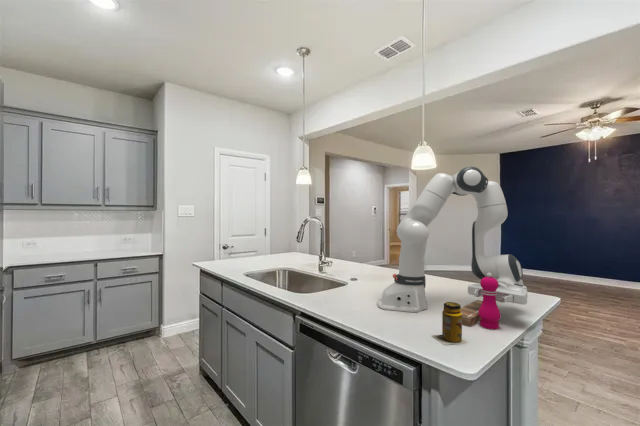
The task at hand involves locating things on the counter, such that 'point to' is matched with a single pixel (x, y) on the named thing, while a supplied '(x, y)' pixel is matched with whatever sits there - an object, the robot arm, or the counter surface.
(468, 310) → the board
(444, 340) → the condiment
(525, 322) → the counter surface
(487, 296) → the pepper mill
